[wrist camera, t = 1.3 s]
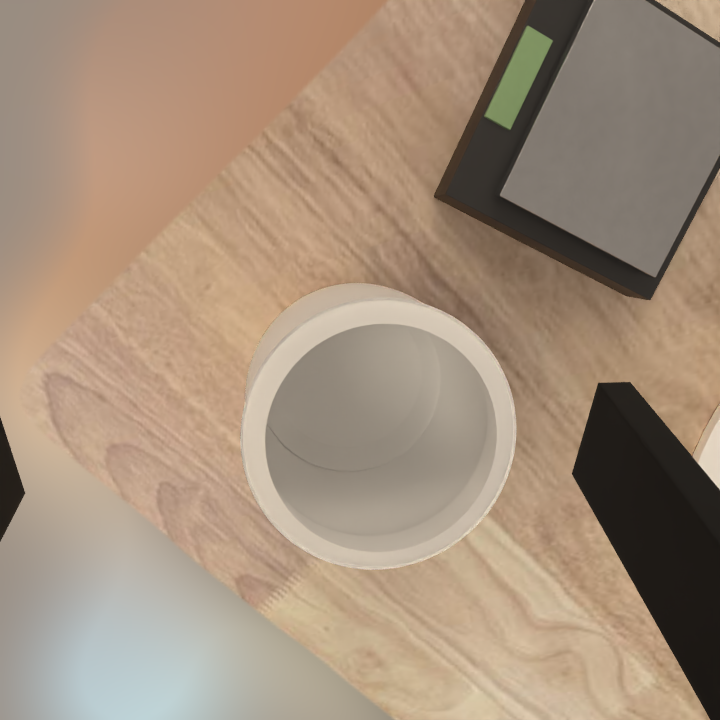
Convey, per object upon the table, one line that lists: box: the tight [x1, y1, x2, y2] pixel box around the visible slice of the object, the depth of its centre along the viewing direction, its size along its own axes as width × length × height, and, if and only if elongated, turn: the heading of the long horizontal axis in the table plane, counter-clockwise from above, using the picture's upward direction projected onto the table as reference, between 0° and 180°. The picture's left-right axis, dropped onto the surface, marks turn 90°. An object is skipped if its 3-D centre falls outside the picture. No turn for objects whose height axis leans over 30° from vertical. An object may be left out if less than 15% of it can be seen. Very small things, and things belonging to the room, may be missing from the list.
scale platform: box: [495, 0, 720, 277], centre depth 34 cm, size 12×10×1 cm
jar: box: [240, 283, 516, 570], centre depth 30 cm, size 11×10×15 cm
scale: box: [434, 0, 720, 300], centre depth 35 cm, size 14×14×3 cm
